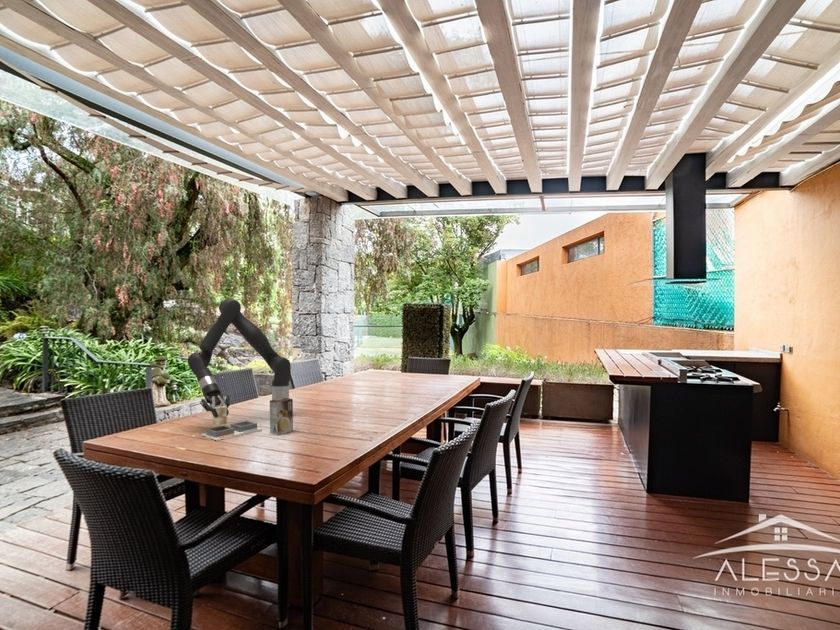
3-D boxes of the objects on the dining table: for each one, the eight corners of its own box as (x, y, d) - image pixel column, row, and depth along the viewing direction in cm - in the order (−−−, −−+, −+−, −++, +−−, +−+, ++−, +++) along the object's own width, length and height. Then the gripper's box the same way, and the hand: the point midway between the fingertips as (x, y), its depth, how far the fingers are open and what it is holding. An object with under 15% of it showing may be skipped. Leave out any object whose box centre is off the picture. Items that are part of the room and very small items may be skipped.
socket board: (246, 426, 232) (246, 419, 232) (261, 430, 223) (261, 423, 223) (201, 436, 214) (201, 428, 214) (216, 441, 205) (216, 433, 205)
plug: (221, 422, 216) (222, 405, 216) (226, 423, 214) (226, 406, 214) (212, 424, 213) (213, 407, 213) (217, 425, 210) (217, 408, 210)
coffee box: (285, 429, 226) (285, 397, 226) (293, 431, 222) (293, 398, 222) (269, 433, 218) (269, 400, 218) (277, 435, 215) (277, 401, 214)
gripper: (197, 384, 212) (209, 413, 205) (226, 380, 224) (239, 408, 216) (192, 394, 216) (204, 423, 208) (220, 390, 227) (233, 418, 219)
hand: (222, 415), depth 212 cm, fingers closed on plug, 4 cm apart
